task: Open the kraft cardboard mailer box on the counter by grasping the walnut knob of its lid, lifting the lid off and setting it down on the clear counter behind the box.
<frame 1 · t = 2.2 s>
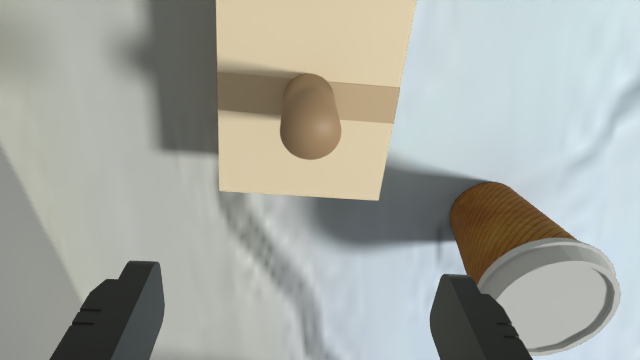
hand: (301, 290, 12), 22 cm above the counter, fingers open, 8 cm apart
lid: (308, 93, 28), point 4 cm above the counter, touching mailer box
disposable coffee cup: (483, 211, 38), on the counter
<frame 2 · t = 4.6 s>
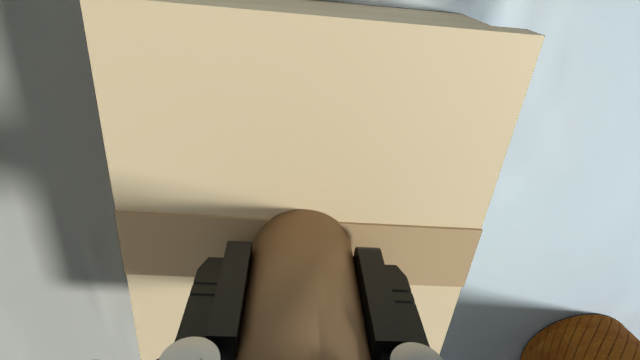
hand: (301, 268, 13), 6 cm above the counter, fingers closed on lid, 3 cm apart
mailer box: (300, 171, 19), on the counter
lid: (301, 232, 15), point 4 cm above the counter, touching gripper, mailer box
disposable coffee cup: (570, 348, 25), on the counter
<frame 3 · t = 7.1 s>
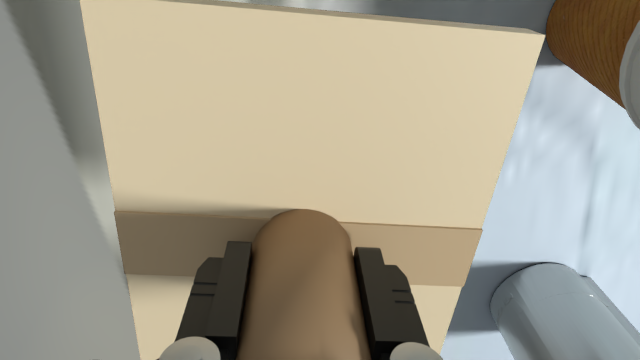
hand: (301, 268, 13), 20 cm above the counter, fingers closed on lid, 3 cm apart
lid: (301, 232, 15), point 18 cm above the counter, touching gripper
disposable coffee cup: (589, 19, 30), on the counter
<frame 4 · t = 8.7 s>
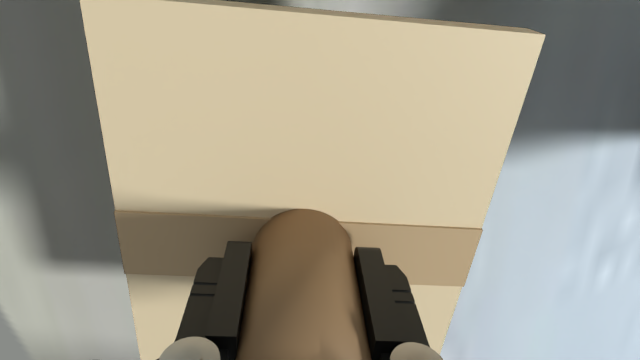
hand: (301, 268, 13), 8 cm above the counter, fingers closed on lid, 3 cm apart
lid: (302, 232, 15), point 6 cm above the counter, touching gripper
when the fingers open (3 cm above the counter, at t = 9.9 s): lid drops 2 cm, on the counter.
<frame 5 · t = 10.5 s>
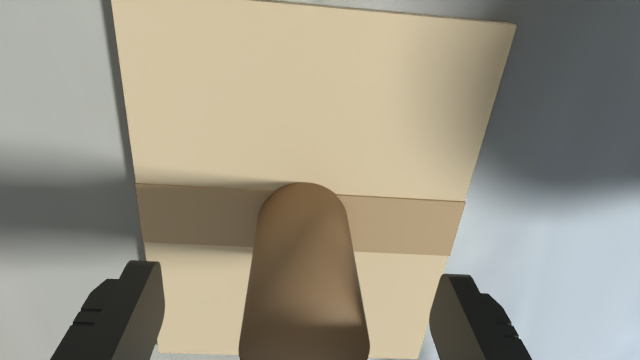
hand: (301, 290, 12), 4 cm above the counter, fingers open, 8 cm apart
lid: (302, 206, 16), on the counter
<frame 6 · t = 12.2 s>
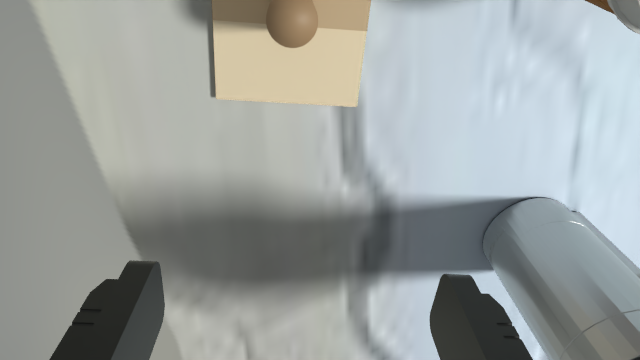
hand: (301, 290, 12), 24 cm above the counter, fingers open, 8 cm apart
lid: (291, 6, 32), on the counter
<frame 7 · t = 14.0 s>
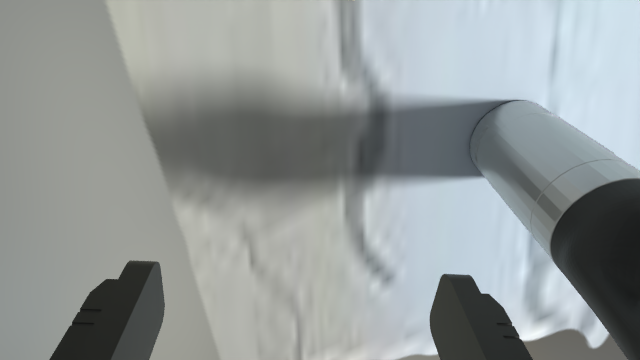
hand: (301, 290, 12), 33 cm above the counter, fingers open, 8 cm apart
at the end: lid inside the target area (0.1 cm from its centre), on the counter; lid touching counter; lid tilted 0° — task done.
